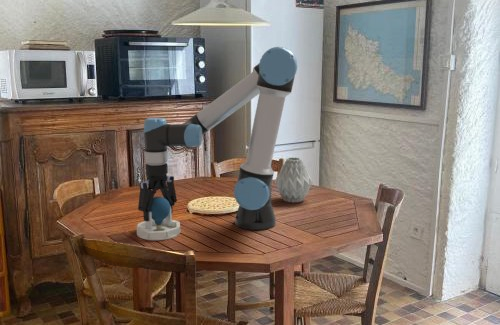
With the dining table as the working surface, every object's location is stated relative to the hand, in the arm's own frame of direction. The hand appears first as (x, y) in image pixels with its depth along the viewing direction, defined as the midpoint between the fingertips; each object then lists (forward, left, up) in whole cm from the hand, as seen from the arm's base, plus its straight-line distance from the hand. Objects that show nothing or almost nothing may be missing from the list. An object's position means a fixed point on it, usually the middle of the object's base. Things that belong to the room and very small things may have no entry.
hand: (158, 226), depth 179 cm
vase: (-15, -65, -3) cm, 67 cm away
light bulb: (0, 0, -2) cm, 2 cm away
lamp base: (0, 0, -3) cm, 3 cm away
